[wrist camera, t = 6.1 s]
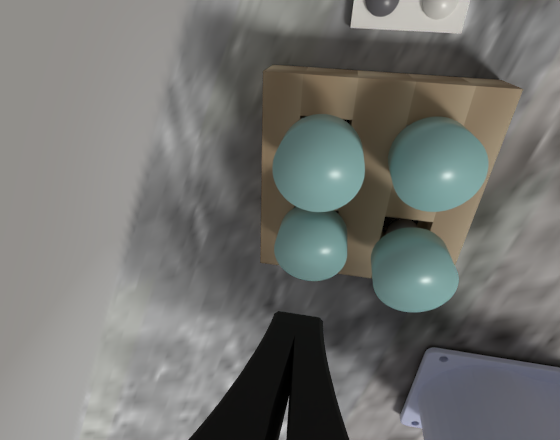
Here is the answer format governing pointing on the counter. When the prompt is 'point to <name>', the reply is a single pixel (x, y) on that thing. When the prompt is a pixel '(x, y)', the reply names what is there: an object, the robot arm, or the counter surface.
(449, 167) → the button
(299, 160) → the button
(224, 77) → the counter surface
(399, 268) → the button
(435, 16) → the pattern card
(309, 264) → the button
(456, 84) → the button board
